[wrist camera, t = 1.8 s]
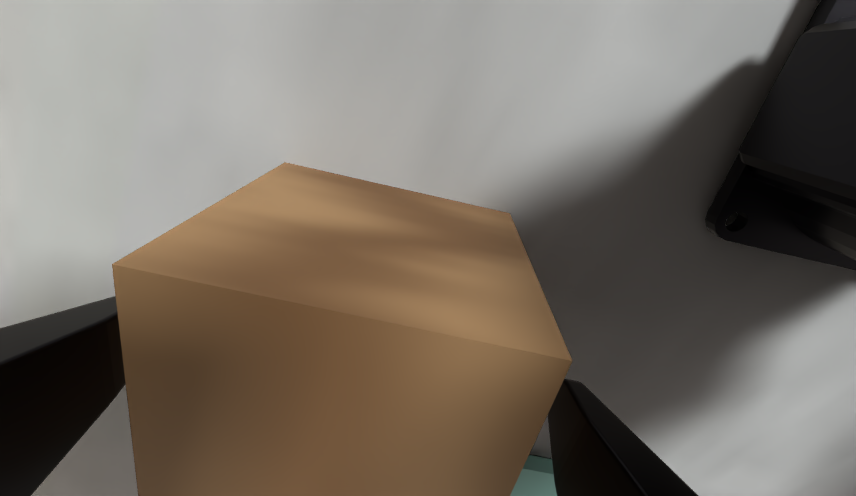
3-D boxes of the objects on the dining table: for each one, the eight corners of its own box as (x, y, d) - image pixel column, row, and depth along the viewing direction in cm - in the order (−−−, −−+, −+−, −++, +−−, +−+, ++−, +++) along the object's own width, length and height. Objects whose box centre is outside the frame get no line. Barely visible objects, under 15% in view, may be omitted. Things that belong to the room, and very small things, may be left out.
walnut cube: (509, 212, 11) (572, 360, 5) (454, 382, 13) (459, 603, 8) (286, 161, 11) (111, 264, 5) (272, 344, 13) (143, 547, 8)
